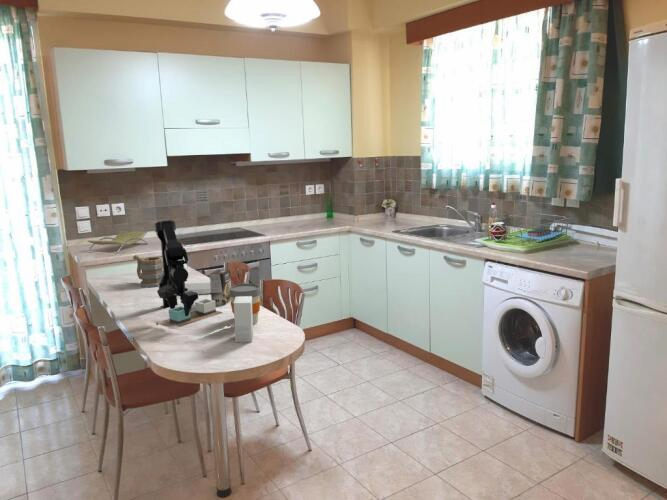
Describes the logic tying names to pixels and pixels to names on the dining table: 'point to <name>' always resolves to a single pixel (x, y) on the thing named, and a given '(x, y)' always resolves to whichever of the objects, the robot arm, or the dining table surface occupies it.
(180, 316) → the teal sleeve
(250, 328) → the skincare box
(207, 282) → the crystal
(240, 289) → the reusable coffee cup
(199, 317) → the pin board
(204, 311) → the grey sleeve
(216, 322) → the dining table surface
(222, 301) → the coffee box
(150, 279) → the tankard
